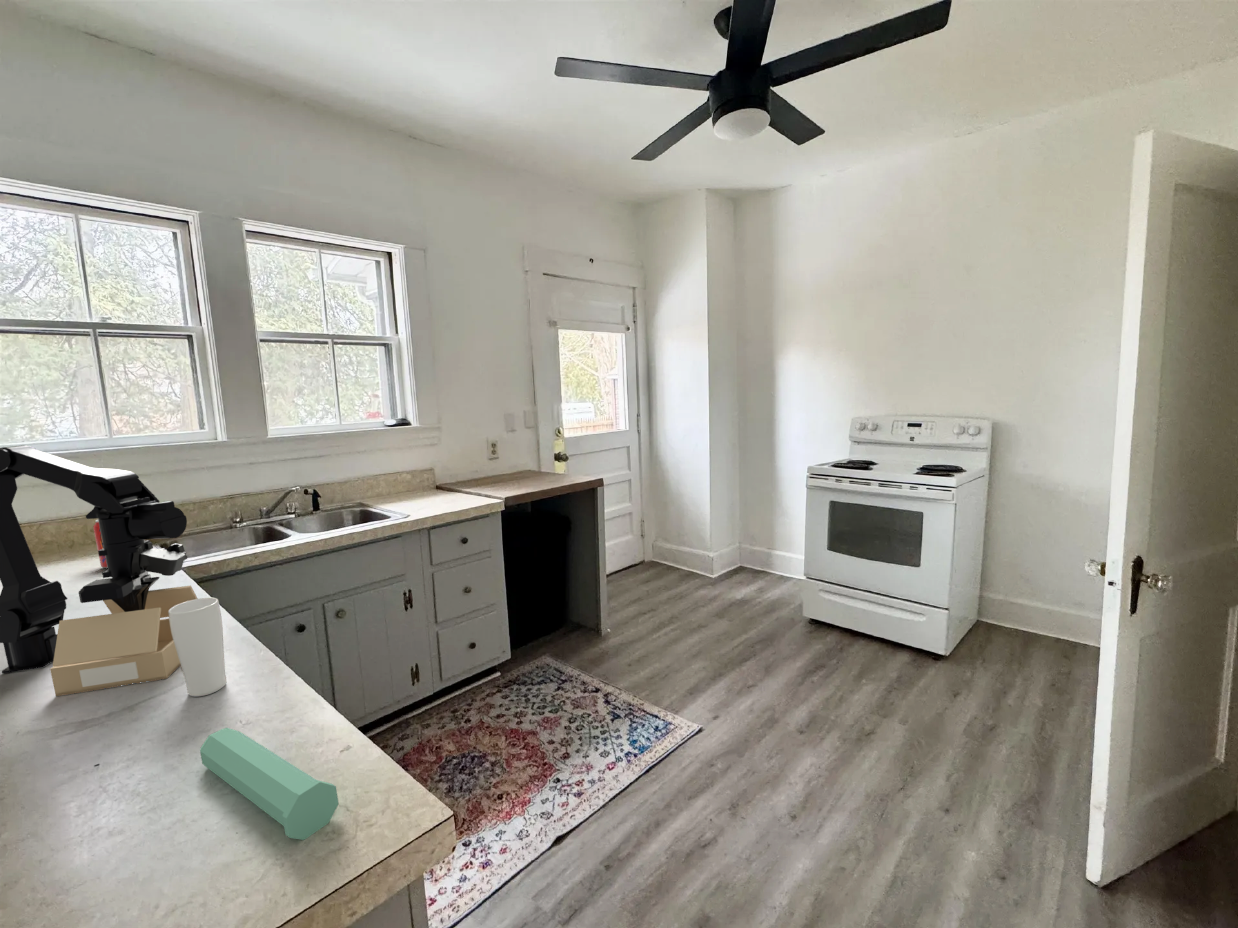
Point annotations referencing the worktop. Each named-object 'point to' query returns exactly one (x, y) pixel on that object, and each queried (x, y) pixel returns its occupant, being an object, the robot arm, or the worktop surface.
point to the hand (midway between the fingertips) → (138, 619)
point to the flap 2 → (160, 599)
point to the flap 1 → (107, 636)
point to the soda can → (99, 543)
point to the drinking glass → (199, 644)
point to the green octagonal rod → (270, 782)
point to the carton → (119, 668)
